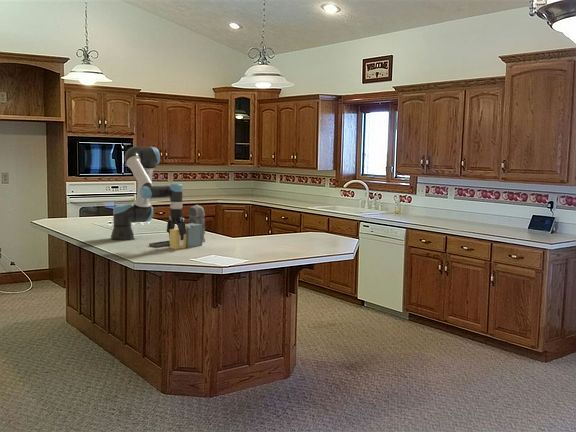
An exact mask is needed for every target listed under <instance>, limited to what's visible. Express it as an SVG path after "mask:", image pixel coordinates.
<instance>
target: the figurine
mask: <svg viewBox="0 0 576 432" xmlns="http://www.w3.org/2000/svg"><path fill="white" fill-rule="evenodd" d="M187 216H188V217H189V218H188V224H190V223H194V224H202V243H203V242H206V238H205V234H206V219H205V216H206V214H205V209H204V207H203V206H201V205H199V204H195V205H192V206H191V207H190V208H189V209H188V214H187Z"/></svg>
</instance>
